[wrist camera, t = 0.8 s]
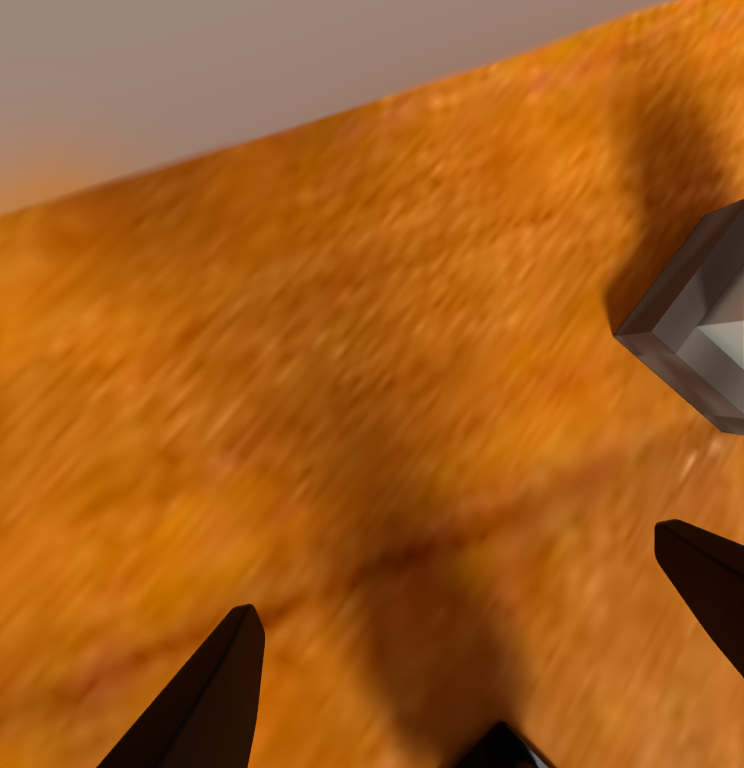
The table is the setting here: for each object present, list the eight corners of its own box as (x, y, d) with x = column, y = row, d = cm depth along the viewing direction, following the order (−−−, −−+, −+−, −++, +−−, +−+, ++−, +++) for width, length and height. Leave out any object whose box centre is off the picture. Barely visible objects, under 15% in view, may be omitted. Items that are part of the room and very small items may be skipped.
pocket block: (808, 313, 27) (868, 306, 24) (722, 432, 26) (772, 439, 23) (704, 215, 26) (754, 194, 23) (613, 336, 25) (651, 331, 22)
